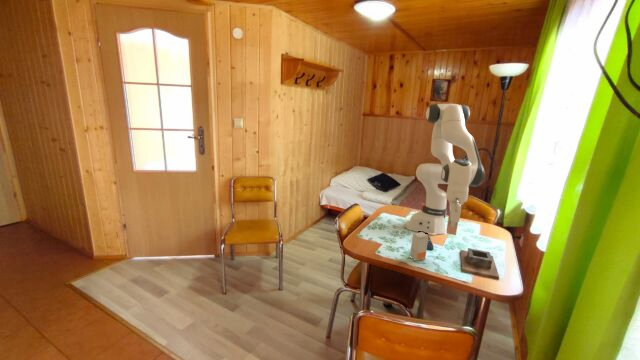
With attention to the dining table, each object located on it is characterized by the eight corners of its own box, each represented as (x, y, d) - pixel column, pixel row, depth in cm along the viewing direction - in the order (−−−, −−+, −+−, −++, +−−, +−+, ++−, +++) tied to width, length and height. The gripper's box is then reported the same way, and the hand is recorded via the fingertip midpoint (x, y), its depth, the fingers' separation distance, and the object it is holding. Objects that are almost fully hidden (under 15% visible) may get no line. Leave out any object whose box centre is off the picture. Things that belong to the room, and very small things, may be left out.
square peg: (446, 233, 137) (448, 217, 135) (446, 230, 141) (448, 214, 139) (455, 235, 136) (458, 218, 134) (455, 231, 140) (458, 215, 138)
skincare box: (415, 261, 138) (418, 237, 135) (409, 256, 141) (412, 233, 139) (425, 259, 140) (429, 235, 137) (419, 254, 144) (422, 231, 141)
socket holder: (462, 271, 130) (464, 260, 129) (460, 252, 148) (461, 242, 147) (498, 279, 125) (501, 268, 124) (492, 258, 143) (494, 248, 142)
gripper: (465, 203, 123) (460, 234, 127) (463, 191, 142) (459, 218, 145) (449, 201, 126) (444, 231, 129) (449, 189, 144) (445, 216, 148)
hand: (452, 224), depth 137 cm, fingers closed on square peg, 4 cm apart
